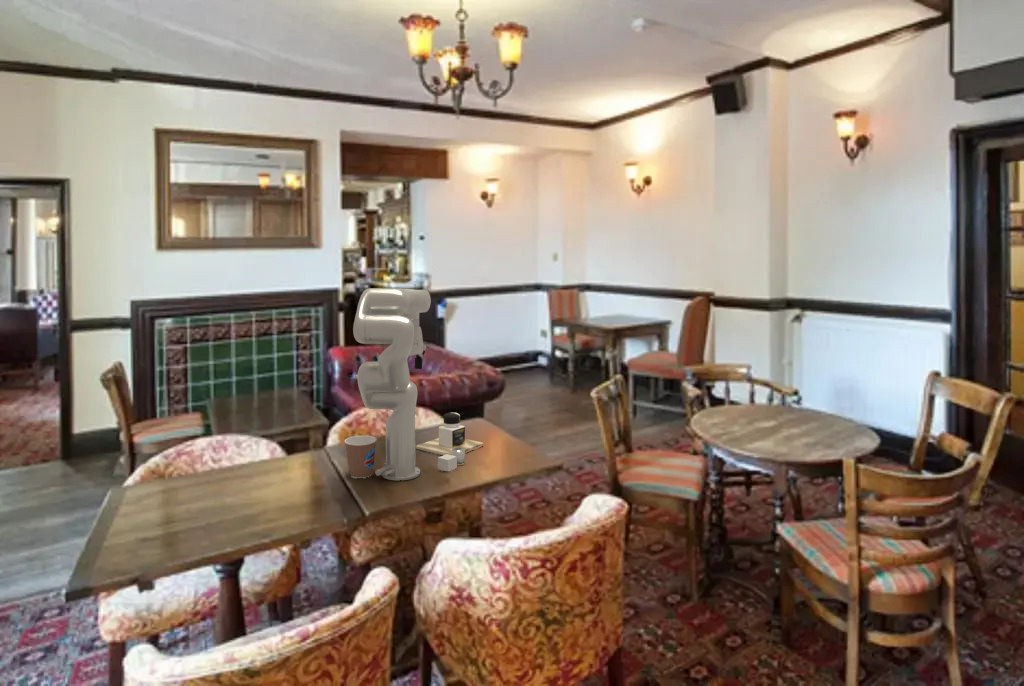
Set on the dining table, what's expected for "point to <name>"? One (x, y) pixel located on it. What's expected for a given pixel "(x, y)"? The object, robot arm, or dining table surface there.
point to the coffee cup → (361, 455)
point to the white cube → (447, 462)
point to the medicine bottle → (451, 431)
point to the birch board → (435, 447)
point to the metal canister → (459, 455)
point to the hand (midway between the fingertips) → (409, 370)
